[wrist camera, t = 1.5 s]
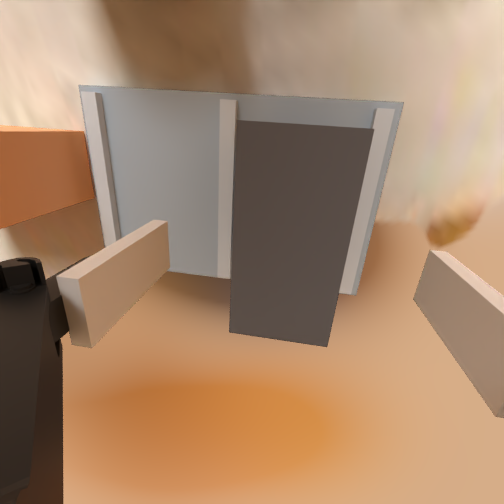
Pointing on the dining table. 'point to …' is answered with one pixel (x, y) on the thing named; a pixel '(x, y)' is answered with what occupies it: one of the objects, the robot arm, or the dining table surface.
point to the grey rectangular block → (293, 226)
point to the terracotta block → (41, 172)
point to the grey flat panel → (209, 165)
